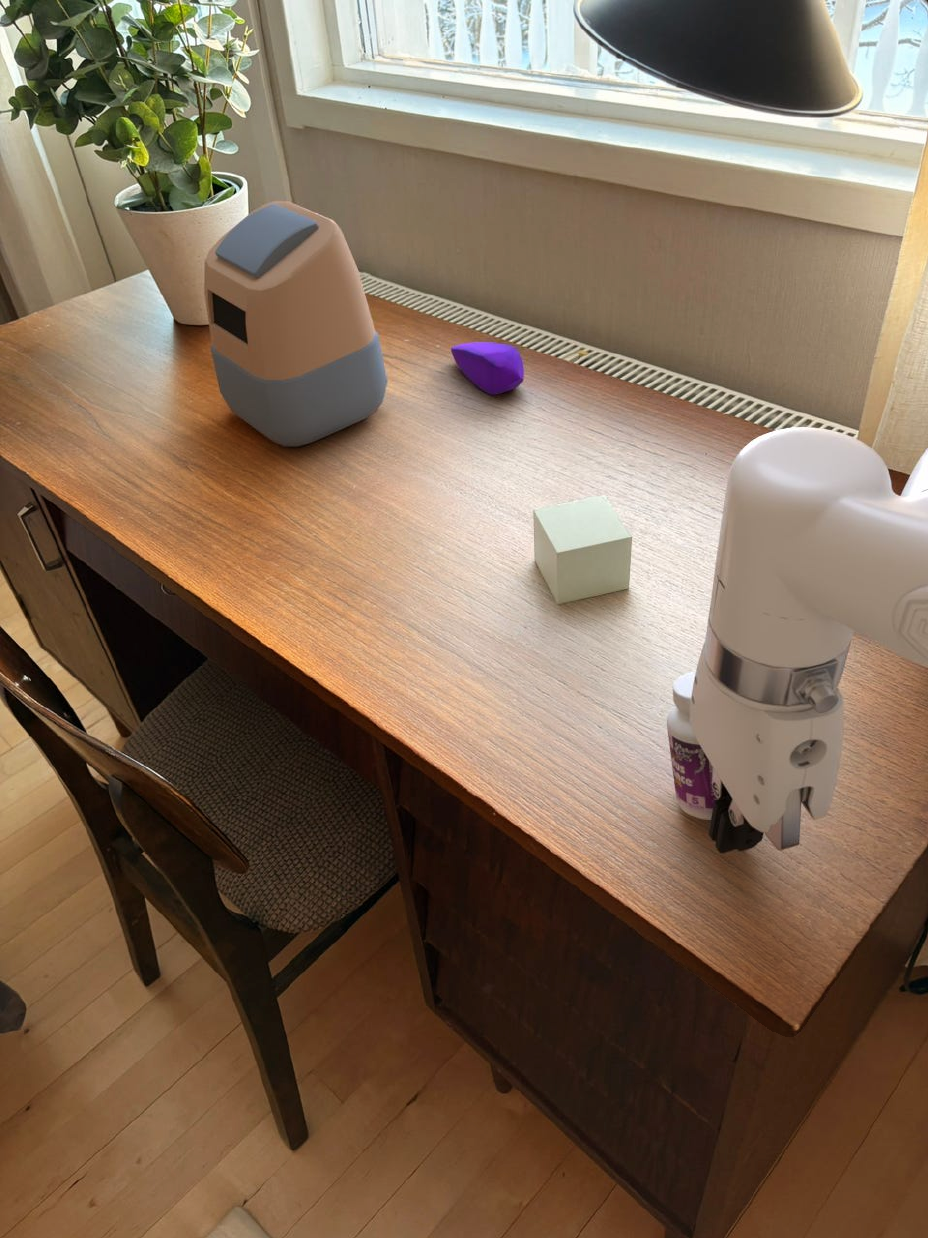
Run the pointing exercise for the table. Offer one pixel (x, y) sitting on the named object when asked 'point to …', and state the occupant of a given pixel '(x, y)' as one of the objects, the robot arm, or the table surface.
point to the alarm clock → (291, 326)
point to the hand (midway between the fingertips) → (734, 839)
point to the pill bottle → (688, 755)
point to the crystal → (490, 365)
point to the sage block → (582, 549)
